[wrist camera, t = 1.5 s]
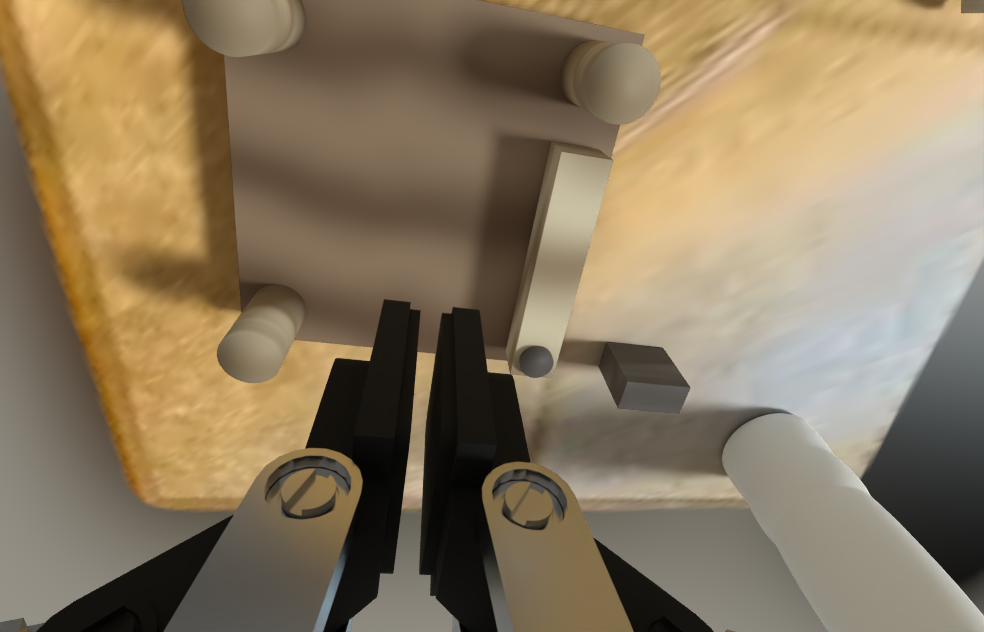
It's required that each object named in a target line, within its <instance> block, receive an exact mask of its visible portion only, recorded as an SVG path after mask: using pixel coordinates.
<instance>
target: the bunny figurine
mask: <svg viewBox="0 0 984 632" xmlns="http://www.w3.org/2000/svg"><path fill="white" fill-rule="evenodd" d="M961 13H984V0H961Z"/></svg>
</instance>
